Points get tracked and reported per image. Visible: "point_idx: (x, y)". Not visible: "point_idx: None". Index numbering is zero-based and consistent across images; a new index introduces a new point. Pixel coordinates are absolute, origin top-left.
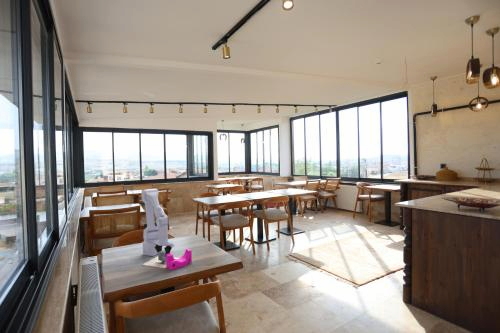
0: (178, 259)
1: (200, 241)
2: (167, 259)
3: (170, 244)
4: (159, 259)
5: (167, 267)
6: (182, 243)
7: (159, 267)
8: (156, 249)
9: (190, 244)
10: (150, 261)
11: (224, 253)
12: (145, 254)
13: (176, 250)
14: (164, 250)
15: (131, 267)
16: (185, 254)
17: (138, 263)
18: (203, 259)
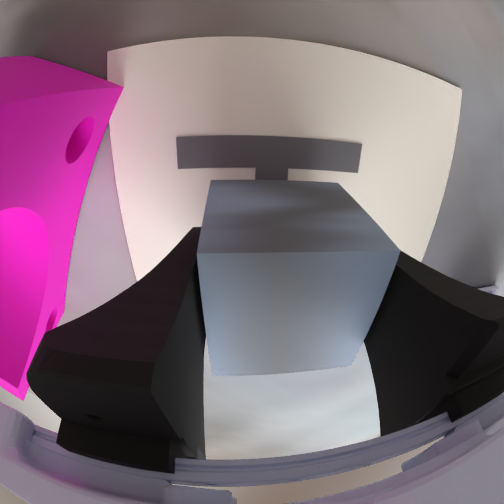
0: (25, 241)
1: (241, 456)
2: (11, 79)
3: (4, 474)
4: (321, 186)
5: (90, 74)
6: (315, 437)
7: (205, 37)
8: (463, 291)
9: (266, 443)
10: (427, 181)
11: (31, 392)
12: (483, 290)
13: (302, 402)
14: (311, 355)
15: (495, 41)
16: (11, 328)
17: (494, 128)
18: None
